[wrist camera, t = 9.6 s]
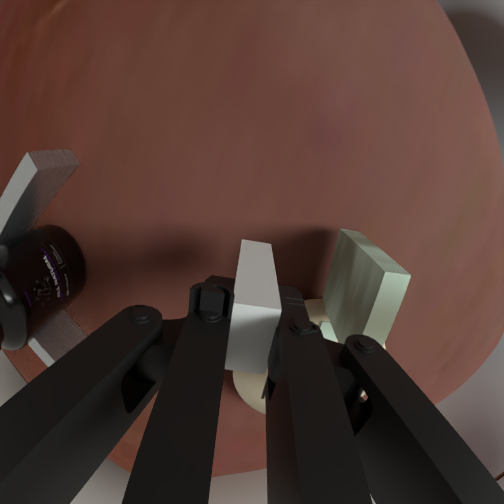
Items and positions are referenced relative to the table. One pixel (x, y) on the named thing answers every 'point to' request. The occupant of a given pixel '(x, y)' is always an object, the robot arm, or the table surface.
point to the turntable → (346, 302)
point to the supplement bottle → (37, 282)
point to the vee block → (22, 221)
